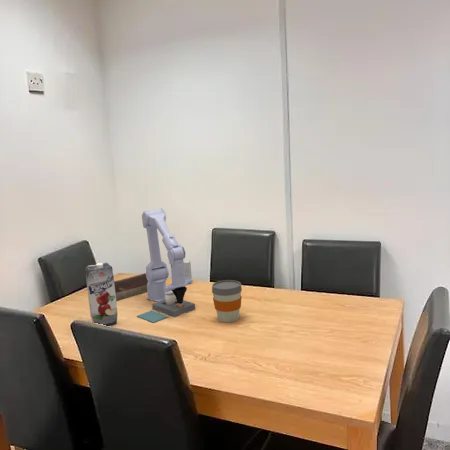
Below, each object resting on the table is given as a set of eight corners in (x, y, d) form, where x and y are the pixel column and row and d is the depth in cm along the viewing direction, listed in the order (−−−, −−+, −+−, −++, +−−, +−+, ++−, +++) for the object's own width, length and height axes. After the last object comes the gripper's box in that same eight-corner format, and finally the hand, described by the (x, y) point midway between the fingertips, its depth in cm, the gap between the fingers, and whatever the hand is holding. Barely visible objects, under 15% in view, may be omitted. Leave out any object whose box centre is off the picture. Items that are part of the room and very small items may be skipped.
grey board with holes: (152, 309, 215) (152, 303, 214) (172, 301, 223) (172, 296, 223) (174, 317, 204) (174, 311, 203) (195, 308, 212) (194, 303, 212)
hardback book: (145, 281, 260) (144, 272, 259) (164, 288, 246) (163, 278, 245) (96, 294, 242) (95, 285, 241) (114, 302, 228) (113, 293, 227)
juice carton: (90, 323, 202) (83, 262, 198) (114, 317, 207) (108, 258, 202) (94, 329, 195) (87, 267, 190) (119, 324, 199) (113, 262, 194)
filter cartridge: (164, 308, 215) (162, 291, 213) (171, 305, 218) (170, 289, 216) (170, 310, 212) (168, 293, 210) (177, 307, 215) (176, 291, 213)
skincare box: (192, 281, 253) (190, 260, 250) (190, 284, 249) (189, 262, 246) (181, 282, 253) (179, 260, 251) (179, 284, 249) (177, 262, 247)
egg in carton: (176, 310, 210) (176, 303, 209) (181, 309, 212) (180, 301, 211) (180, 311, 208) (179, 304, 208) (184, 310, 210) (183, 302, 209)
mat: (136, 316, 206) (136, 315, 206) (151, 311, 212) (151, 310, 212) (153, 323, 198) (153, 322, 198) (168, 317, 204) (168, 316, 204)
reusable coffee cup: (223, 311, 207) (221, 278, 205) (248, 315, 201) (246, 281, 198) (208, 321, 197) (205, 287, 194) (234, 326, 190) (231, 290, 188)
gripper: (170, 279, 199) (173, 309, 201) (196, 271, 209) (198, 300, 211) (160, 276, 204) (163, 306, 206) (185, 268, 214) (187, 297, 216)
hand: (180, 303), depth 209 cm, fingers closed, pressing on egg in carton
